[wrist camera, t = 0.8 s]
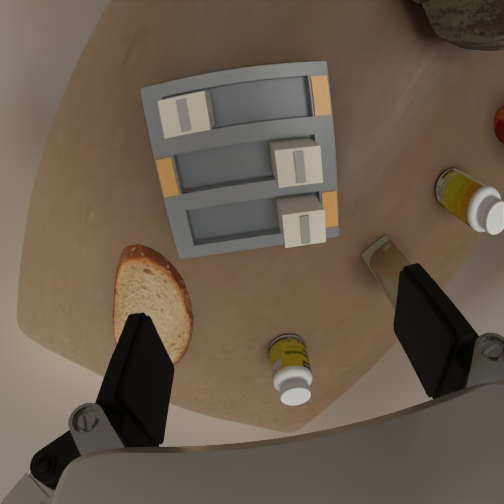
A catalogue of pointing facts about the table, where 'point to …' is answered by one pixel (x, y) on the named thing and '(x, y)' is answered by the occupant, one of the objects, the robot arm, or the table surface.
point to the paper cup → (500, 124)
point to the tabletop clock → (468, 22)
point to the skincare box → (386, 266)
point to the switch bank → (241, 155)
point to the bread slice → (153, 298)
